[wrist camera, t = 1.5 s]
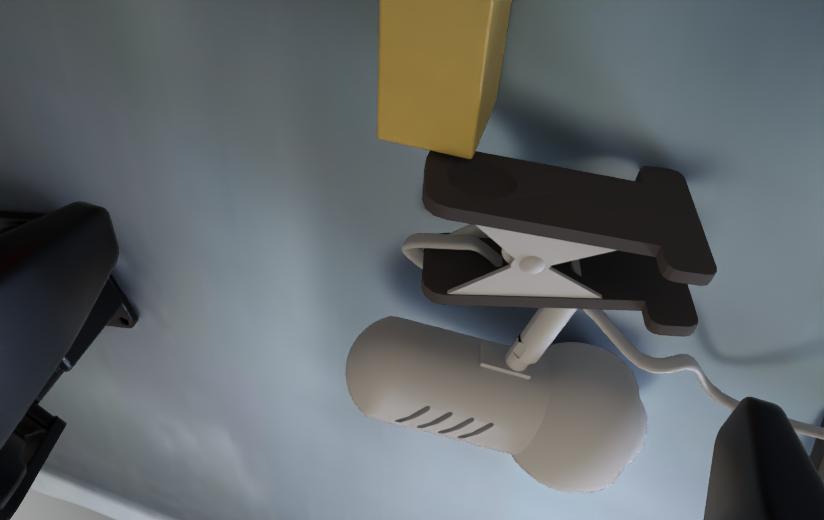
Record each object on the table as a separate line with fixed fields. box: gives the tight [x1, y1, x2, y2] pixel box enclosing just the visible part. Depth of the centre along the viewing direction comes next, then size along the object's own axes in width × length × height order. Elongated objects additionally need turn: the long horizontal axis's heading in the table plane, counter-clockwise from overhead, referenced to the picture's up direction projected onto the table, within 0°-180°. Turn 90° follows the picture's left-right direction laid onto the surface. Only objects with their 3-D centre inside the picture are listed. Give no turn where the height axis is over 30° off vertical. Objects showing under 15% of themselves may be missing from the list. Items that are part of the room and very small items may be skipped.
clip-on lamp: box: [346, 151, 824, 493], centre depth 23 cm, size 12×6×18 cm
